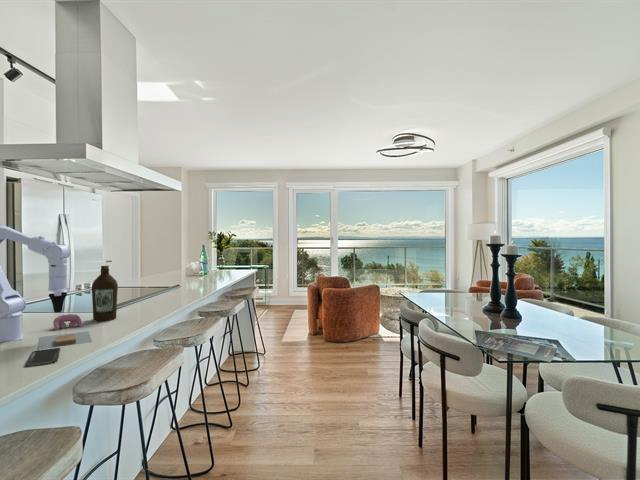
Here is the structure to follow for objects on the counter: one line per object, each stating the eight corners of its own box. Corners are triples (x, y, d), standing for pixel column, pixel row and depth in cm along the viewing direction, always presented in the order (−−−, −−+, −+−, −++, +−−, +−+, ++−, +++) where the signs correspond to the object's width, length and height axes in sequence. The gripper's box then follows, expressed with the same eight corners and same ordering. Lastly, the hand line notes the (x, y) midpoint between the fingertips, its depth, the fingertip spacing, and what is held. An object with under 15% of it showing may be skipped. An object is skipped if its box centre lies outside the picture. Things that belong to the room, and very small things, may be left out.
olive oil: (92, 317, 176) (92, 265, 175) (118, 315, 180) (118, 264, 180) (90, 322, 166) (90, 267, 166) (117, 320, 171) (117, 266, 170)
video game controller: (80, 329, 160) (78, 314, 162) (83, 326, 157) (81, 310, 160) (53, 333, 153) (51, 317, 155) (55, 330, 150) (53, 314, 152)
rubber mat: (39, 338, 141) (39, 337, 141) (88, 332, 151) (88, 331, 151) (37, 350, 127) (37, 349, 127) (92, 342, 136) (92, 341, 136)
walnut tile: (55, 336, 137) (55, 341, 130) (74, 334, 140) (75, 339, 134) (55, 340, 137) (55, 346, 131) (74, 338, 141) (75, 343, 134)
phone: (25, 364, 111) (32, 350, 124) (25, 368, 111) (32, 354, 124) (57, 360, 115) (61, 347, 128) (57, 363, 115) (61, 350, 128)
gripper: (71, 277, 136) (71, 314, 137) (70, 274, 148) (70, 307, 149) (47, 279, 132) (47, 316, 133) (48, 274, 144) (48, 309, 144)
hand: (57, 312), depth 140 cm, fingers closed
